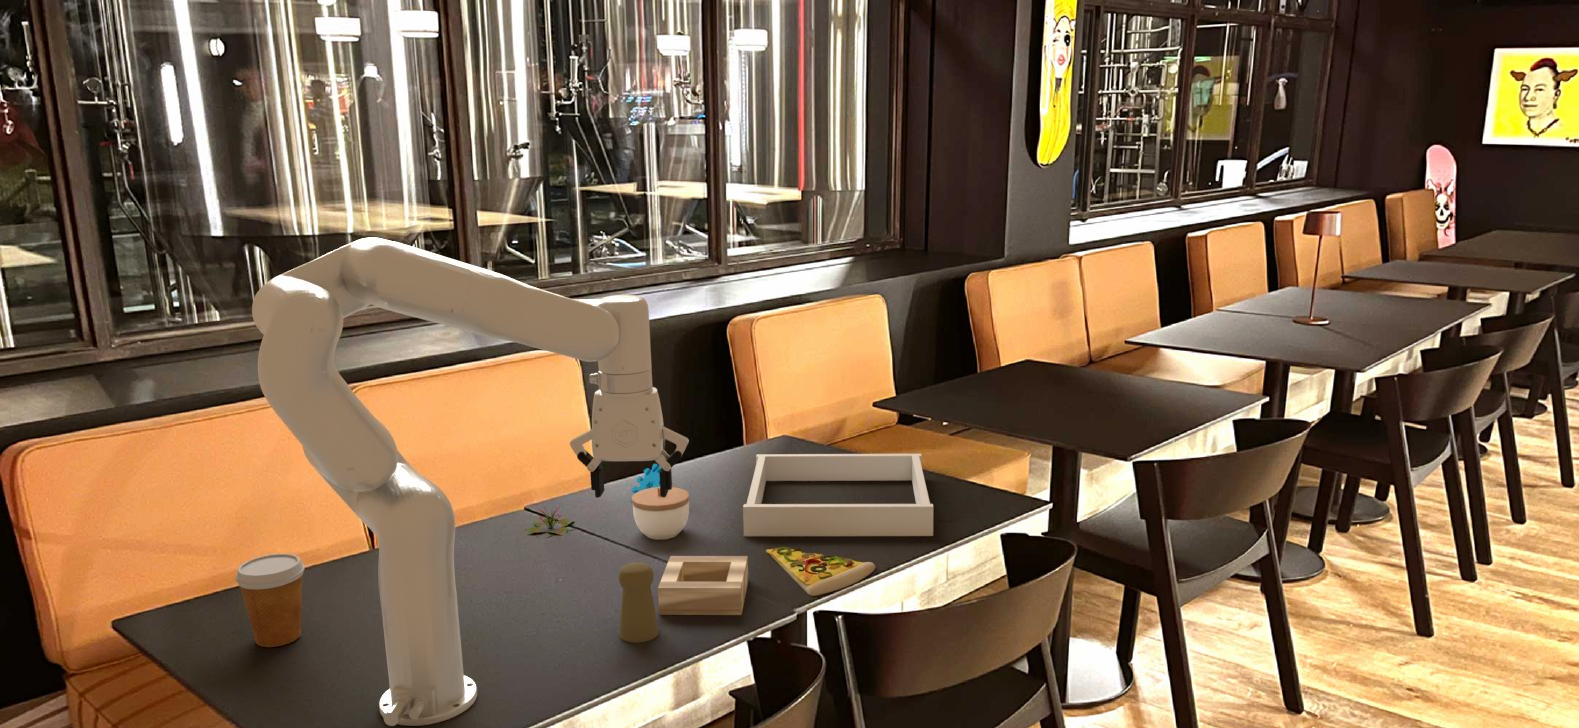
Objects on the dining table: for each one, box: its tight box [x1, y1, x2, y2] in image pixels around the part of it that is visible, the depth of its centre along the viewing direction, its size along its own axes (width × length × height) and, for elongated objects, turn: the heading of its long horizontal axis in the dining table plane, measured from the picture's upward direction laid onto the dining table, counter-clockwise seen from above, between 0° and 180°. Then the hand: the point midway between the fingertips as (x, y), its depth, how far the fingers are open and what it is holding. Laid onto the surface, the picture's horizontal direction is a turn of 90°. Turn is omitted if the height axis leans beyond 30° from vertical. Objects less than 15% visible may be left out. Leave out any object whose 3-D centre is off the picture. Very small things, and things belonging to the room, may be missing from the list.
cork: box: [618, 561, 660, 644], centre depth 167 cm, size 6×6×11 cm
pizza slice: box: [765, 546, 876, 597], centre depth 191 cm, size 16×21×3 cm
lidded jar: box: [631, 486, 690, 541], centre depth 207 cm, size 11×11×9 cm
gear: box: [630, 463, 661, 501], centre depth 225 cm, size 11×6×10 cm
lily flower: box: [524, 505, 577, 539], centre depth 212 cm, size 12×12×5 cm
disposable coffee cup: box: [234, 553, 306, 648], centre depth 167 cm, size 10×10×12 cm
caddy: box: [657, 555, 749, 616], centre depth 179 cm, size 13×13×4 cm
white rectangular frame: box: [742, 453, 934, 537], centre depth 220 cm, size 33×35×6 cm
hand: (632, 494), depth 163 cm, fingers open, 9 cm apart
